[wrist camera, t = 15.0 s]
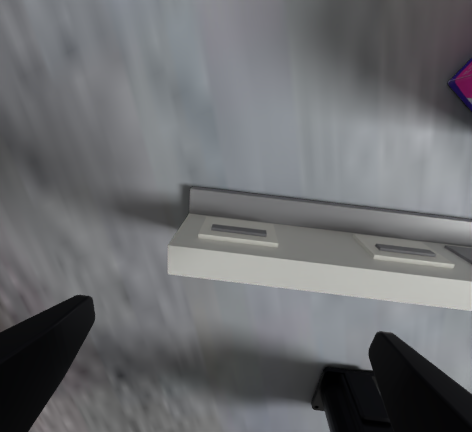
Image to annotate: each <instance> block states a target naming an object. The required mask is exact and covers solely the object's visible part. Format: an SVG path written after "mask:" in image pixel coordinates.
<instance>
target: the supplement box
mask: <svg viewBox="0 0 472 432" xmlns="http://www.w3.org/2000/svg"><path fill="white" fill-rule="evenodd" d="M448 85H449V86H450V87H451V89H452V90H453V91H454V92H455V93H456V94H457V95H458V97H459V98H460V99H461V100H462V101H463V102H464V103H465V104H466V106H467V107H468V108H469V109H470V110H471V111H472V58H471V59H470V60H469V61H468V62H467V63H466V64H465V65H464V66H463V67H462V68H461V69H460V70H459V71H458V72H457V73H456V74H455V75H454V76H453V77H452V78H451V79H450V80H449V81H448Z"/></svg>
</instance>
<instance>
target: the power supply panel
mask: <svg viewBox="0 0 472 432" xmlns="http://www.w3.org/2000/svg"><path fill="white" fill-rule="evenodd" d="M168 274H171V275H179V276H187V277H195V278H204V279H212V280H220V281H229V282H237V283H245V284H253V285H262V286H270V287H278V288H286V289H295V290H303V291H311V292H320V293H328V294H336V295H344V296H353V297H361V298H369V299H377V300H386V301H394V302H402V303H411V304H419V305H427V306H435V307H444V308H452V309H460V310H468V311H472V219H464V218H456V217H448V216H439V215H431V214H422V213H414V212H405V211H397V210H389V209H380V208H372V207H363V206H355V205H347V204H338V203H330V202H321V201H313V200H305V199H296V198H288V197H279V196H271V195H262V194H254V193H246V192H237V191H229V190H220V189H212V188H204V187H195V186H192V187H191V188H190V206H189V215H188V216H187V217H186V219H185V220H184V222H183V223H182V225H181V226H180V228H179V229H178V231H177V232H176V234H175V235H174V237H173V238H172V240H171V241H170V243H169V244H168Z"/></svg>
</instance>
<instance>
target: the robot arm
mask: <svg viewBox="0 0 472 432" xmlns="http://www.w3.org/2000/svg"><path fill="white" fill-rule="evenodd" d="M94 321H95V311H94V304H93V299H92V297H90V296H85V295H76V296H74V297H72V298H70V299H68V300H66V301H63V302H61V303H59V304H57V305H55V306H53V307H51V308H49V309H47V310H45V311H43V312H41V313H39V314H37V315H35V316H33V317H31V318H29V319H27V320H25V321H23V322H21V323H19V324H17V325H15V326H13V327H10V328H8V329H6V330H4V331H2V332H0V432H28V431H29V430H30V428H31V427H32V425H33V424H34V422H35V420H36V419H37V417H38V416H39V414H40V413H41V411H42V410H43V408H44V407H45V405H46V404H47V402H48V401H49V399H50V398H51V396H52V395H53V393H54V392H55V390H56V389H57V387H58V386H59V384H60V383H61V381H62V379H63V378H64V376H65V375H66V373H67V371H68V369H69V368H70V366H71V364H72V362H73V360H74V359H75V357H76V355H77V353H78V351H79V349H80V348H81V346H82V344H83V342H84V340H85V338H86V336H87V335H88V333H89V331H90V329H91V327H92V325H93V323H94ZM369 359H370V362H371V365H372V369H373V372H374V373H370V372H362V371H354V370H346V369H338V368H329V367H327V368H324V369H323V372H322V374H321V377H320V380H319V383H318V385H317V388H316V391H315V394H314V397H313V399H312V402H311V405H312V408H313V409H314V410H320V411H325V414H326V418H327V421H328V425H329V429H330V432H472V394H471V393H470V392H468V391H467V390H466V389H464V388H463V387H462V386H460V385H459V384H458V383H457V382H455V381H454V380H453V379H451V378H450V377H449V376H448V375H446V374H445V373H444V372H442V371H441V370H440V369H438V368H437V367H436V366H435V365H433V364H432V363H431V362H429V361H428V360H427V359H426V358H424V357H423V356H422V355H420V354H419V353H418V352H417V351H415V350H414V349H413V348H411V347H410V346H409V345H407V344H406V343H405V342H404V341H402V340H401V339H400V338H398V337H397V336H396V335H394V334H393V333H390V332H382V331H379V332H377V333H376V334H375V337H374V339H373V341H372V343H371V346H370V348H369Z"/></svg>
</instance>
